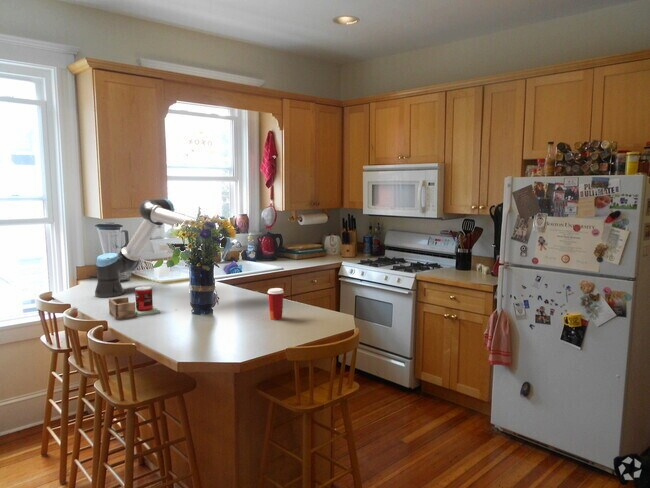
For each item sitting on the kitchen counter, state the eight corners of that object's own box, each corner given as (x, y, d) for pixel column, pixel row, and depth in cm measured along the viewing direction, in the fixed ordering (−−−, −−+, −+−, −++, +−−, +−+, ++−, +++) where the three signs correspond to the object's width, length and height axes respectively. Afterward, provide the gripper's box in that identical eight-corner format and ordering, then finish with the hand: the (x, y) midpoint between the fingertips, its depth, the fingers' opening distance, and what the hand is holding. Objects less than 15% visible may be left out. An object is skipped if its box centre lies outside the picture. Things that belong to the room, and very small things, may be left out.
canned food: (138, 307, 252) (137, 286, 250) (154, 307, 252) (153, 285, 251) (134, 311, 244) (133, 289, 243) (150, 311, 245) (149, 289, 243)
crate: (151, 307, 257) (150, 293, 256) (159, 312, 246) (159, 299, 245) (109, 313, 246) (108, 299, 245) (116, 319, 234) (115, 305, 233)
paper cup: (286, 317, 238) (286, 288, 236) (280, 321, 231) (279, 291, 229) (271, 315, 241) (271, 287, 239) (264, 319, 233) (264, 290, 232)
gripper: (211, 255, 258) (170, 259, 246) (194, 250, 279) (155, 253, 267) (211, 241, 257) (170, 244, 245) (193, 237, 278) (155, 239, 266)
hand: (162, 249), depth 256 cm, fingers open, 13 cm apart
